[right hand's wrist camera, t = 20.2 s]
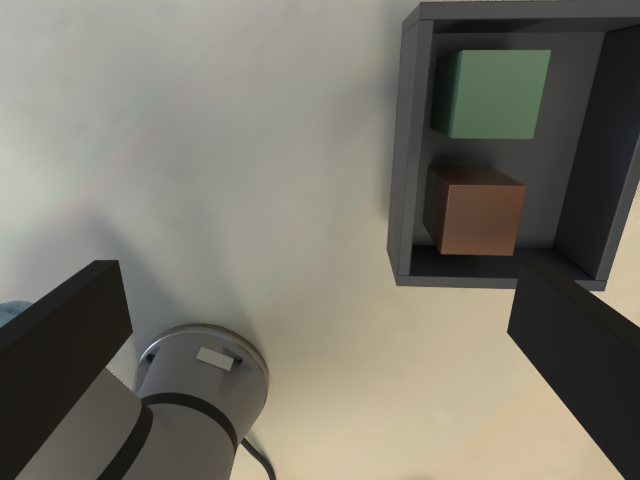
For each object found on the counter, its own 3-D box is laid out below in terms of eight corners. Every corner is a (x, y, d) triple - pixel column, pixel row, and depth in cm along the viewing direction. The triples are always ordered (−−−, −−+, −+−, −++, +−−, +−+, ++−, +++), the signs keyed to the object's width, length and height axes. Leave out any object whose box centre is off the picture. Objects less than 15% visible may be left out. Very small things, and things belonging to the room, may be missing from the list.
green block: (493, 128, 27) (533, 139, 21) (429, 128, 27) (451, 138, 21) (505, 58, 25) (551, 49, 19) (436, 58, 25) (463, 49, 20)
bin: (692, 256, 30) (776, 296, 24) (386, 249, 31) (396, 286, 26) (788, 18, 24) (931, -5, 18) (402, 22, 25) (420, 1, 19)
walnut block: (480, 224, 29) (513, 256, 24) (422, 223, 30) (440, 254, 24) (490, 166, 28) (527, 185, 22) (428, 165, 28) (449, 184, 22)
